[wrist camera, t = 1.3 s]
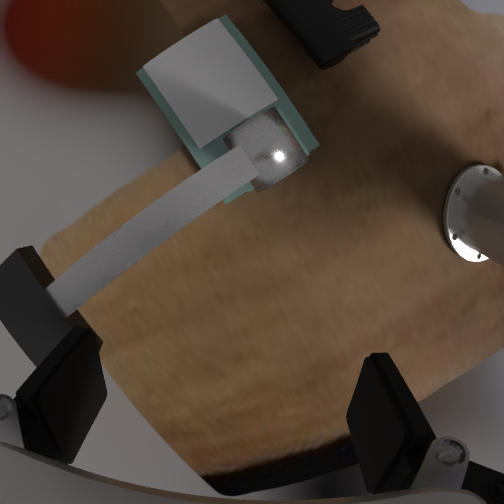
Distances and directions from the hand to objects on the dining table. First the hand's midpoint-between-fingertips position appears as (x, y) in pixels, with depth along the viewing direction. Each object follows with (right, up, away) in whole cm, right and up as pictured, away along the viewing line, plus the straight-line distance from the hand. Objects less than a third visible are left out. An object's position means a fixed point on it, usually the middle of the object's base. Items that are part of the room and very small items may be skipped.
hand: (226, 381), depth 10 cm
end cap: (+7, +29, +18) cm, 35 cm away
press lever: (-4, +5, +5) cm, 9 cm away
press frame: (-2, +19, +21) cm, 28 cm away
